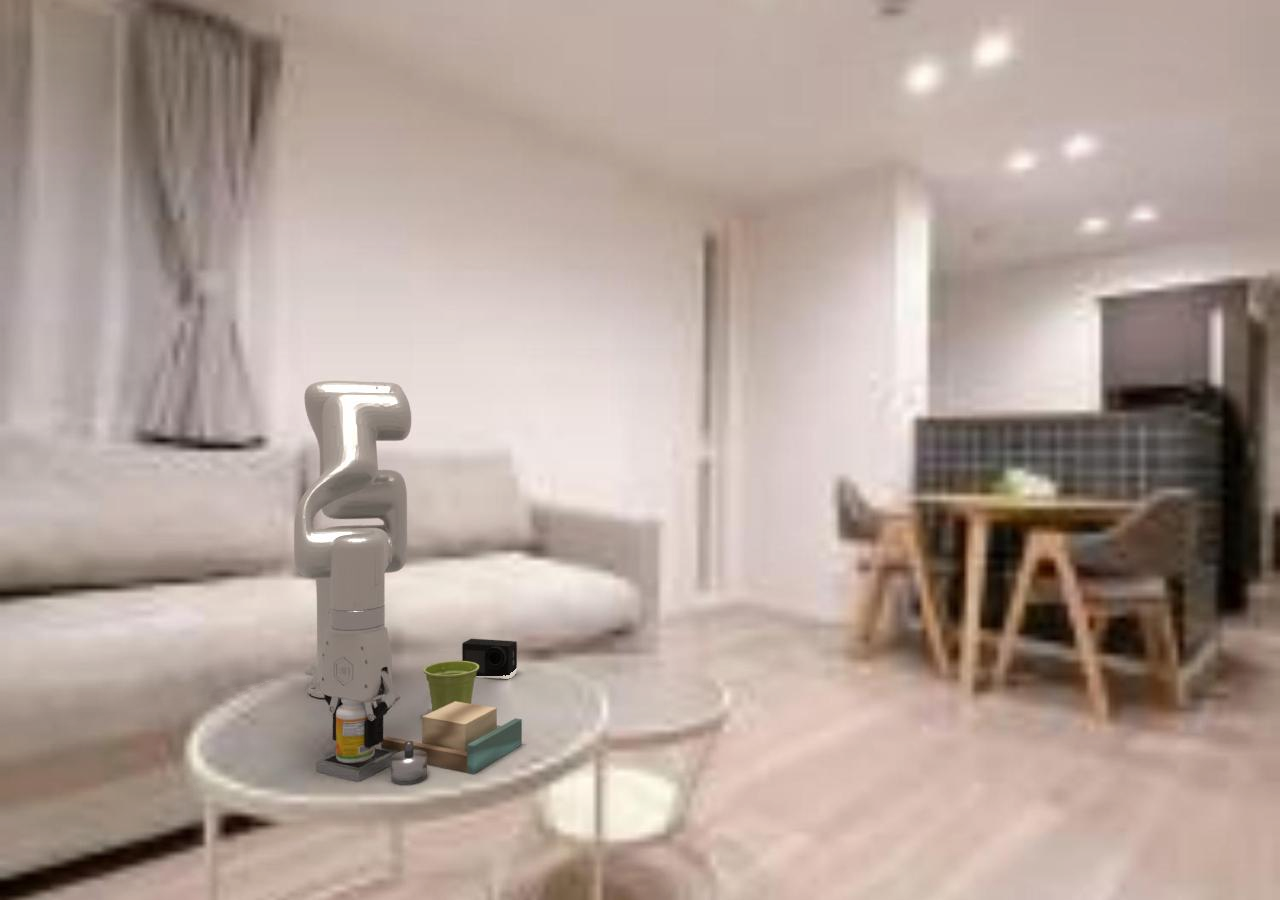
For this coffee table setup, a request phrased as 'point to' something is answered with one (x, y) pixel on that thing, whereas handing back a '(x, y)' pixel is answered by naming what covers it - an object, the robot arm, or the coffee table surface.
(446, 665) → the plant pot
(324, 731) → the coffee table surface
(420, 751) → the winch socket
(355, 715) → the supplement bottle
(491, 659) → the digital camera
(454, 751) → the bay
